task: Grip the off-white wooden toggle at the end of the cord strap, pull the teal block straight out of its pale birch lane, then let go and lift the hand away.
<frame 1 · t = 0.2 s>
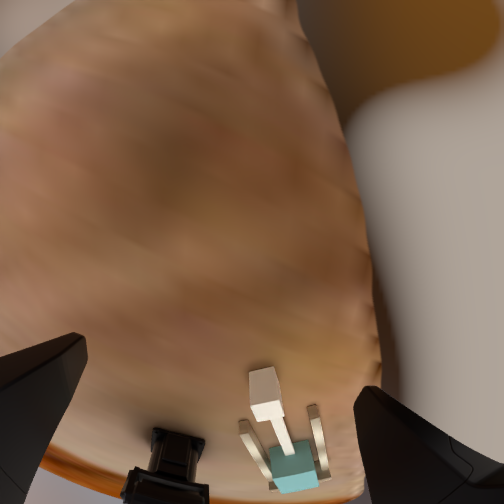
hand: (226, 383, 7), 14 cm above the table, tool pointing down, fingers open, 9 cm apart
teal block: (292, 454, 29), on the table
birch lane: (292, 454, 29), on the table
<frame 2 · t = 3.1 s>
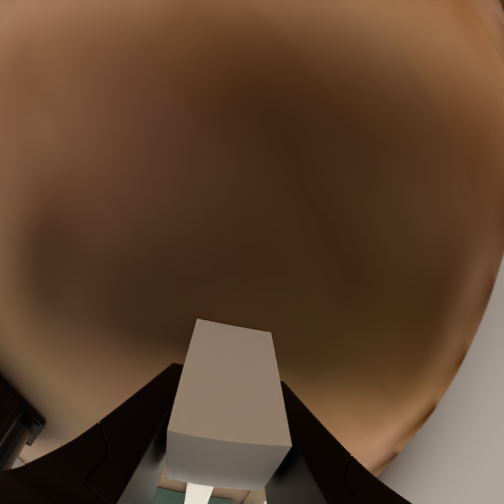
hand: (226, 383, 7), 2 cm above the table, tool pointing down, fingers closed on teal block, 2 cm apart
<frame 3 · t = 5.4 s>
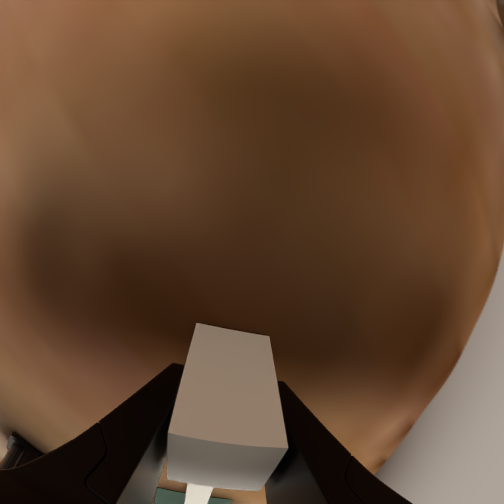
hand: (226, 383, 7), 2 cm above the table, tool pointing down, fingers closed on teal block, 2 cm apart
when the fingers open (2 cm above the table, at t = 7.9 s): teal block stays where it is, on the table.
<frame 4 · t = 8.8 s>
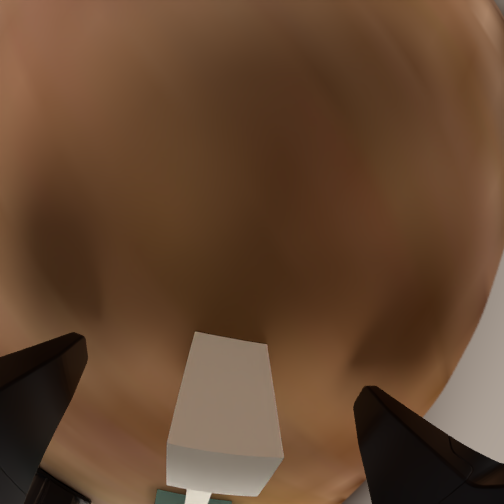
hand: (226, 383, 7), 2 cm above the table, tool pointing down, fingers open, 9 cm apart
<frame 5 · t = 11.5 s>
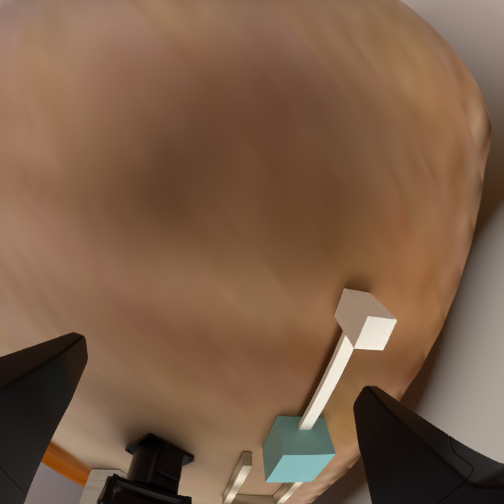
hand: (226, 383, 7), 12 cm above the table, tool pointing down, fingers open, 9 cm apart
teal block: (292, 433, 24), on the table
birch lane: (258, 486, 28), on the table
supplement box: (120, 479, 28), on the table
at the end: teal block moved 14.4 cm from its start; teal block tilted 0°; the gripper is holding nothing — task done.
